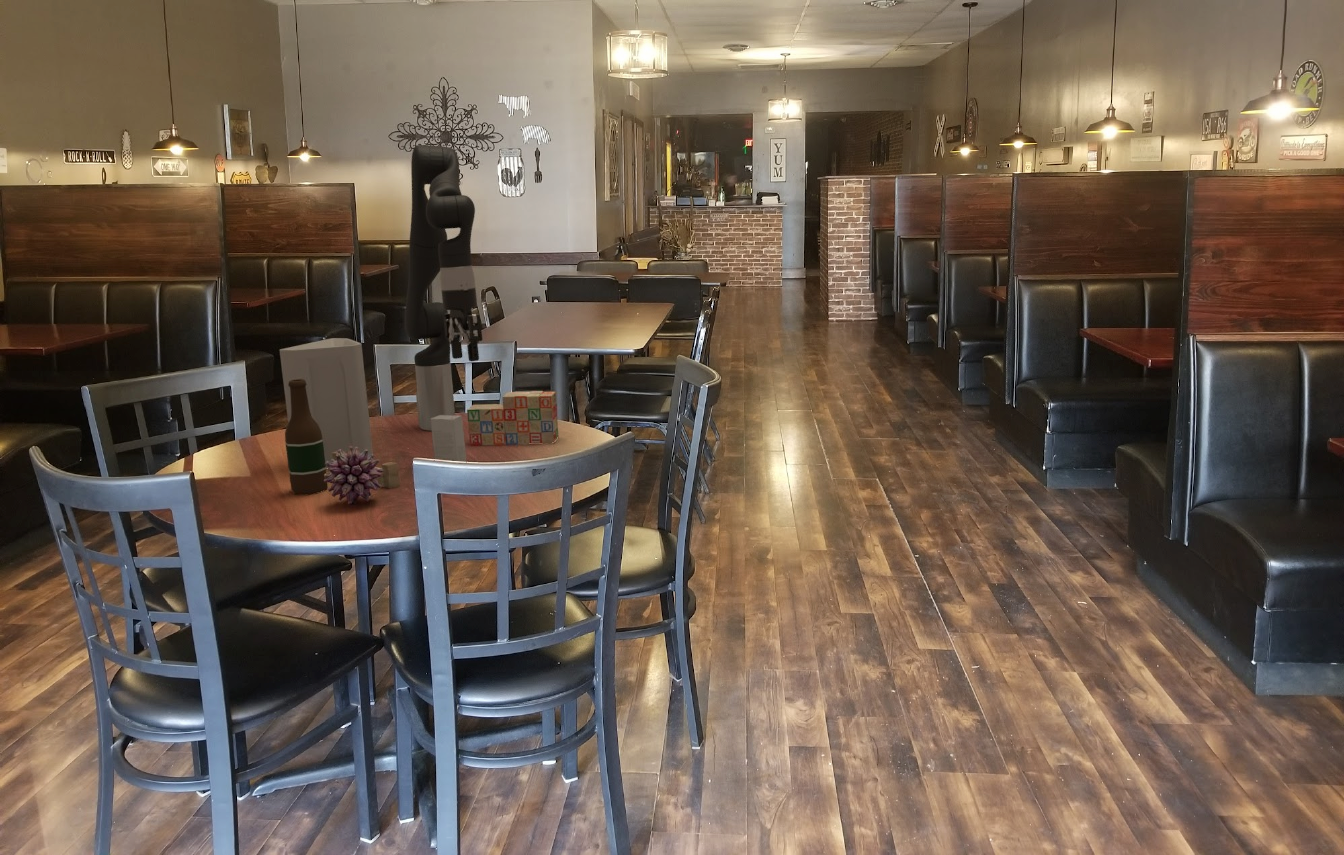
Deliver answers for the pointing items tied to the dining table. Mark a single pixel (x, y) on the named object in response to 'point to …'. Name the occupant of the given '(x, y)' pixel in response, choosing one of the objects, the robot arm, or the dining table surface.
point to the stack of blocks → (515, 420)
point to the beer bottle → (304, 444)
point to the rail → (384, 473)
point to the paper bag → (332, 391)
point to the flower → (353, 475)
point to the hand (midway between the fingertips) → (465, 359)
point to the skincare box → (448, 438)
